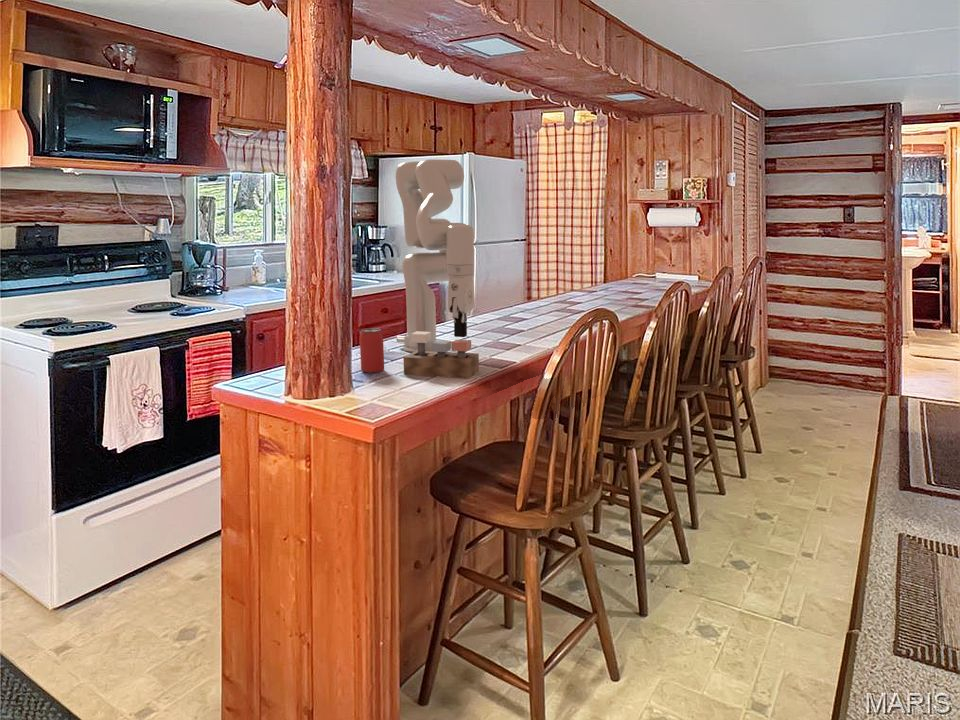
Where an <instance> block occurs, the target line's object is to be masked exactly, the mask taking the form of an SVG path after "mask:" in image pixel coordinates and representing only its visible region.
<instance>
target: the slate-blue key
mask: <svg viewBox="0 0 960 720" xmlns="http://www.w3.org/2000/svg"><path fill="white" fill-rule="evenodd" d="M451 342H452V341H451V340H438V339H436V341H434V342H432V343H431V352H437V354H438V357H445V352H450V351H452V350H451Z"/></svg>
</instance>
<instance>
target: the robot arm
mask: <svg viewBox="0 0 960 720" xmlns="http://www.w3.org/2000/svg"><path fill="white" fill-rule="evenodd" d="M464 181H465V173H464V168H463V166H462V165H461V163H460V162H459V161H457V160H456V159H440V158H439V159H436V158H434V159H424V160H421V161H413V160H412V161H406V162H402V163H400V164H398V165H397V167H396V169H395V185H396V189H397V192H398V195H399V198H400V201H401V203H402V210H403V211H402V212H403V226H404V237H405V238H404V239H405V242H406V245H407V246H408V247H409V248H411V249H420V250H421V249H425V250H427V251H428V252H413V253H410V254H408V255H406V256H405V257H404V258H403V260H402V265H401V267H402V274H403V278H404V286H405V300H406V301H405V302H406V303H405V304H406V329H407V330H406V335H404V336H403V335H402V336H401V335H397V336H396V339H395V340H396V342H397V343H404V344H403V345H402V350H404V351H405V352H410V353H413V352H415V351H417V350H418V346H417V343H416V342H411V334H412V333H414V332H416V331H421V332H431V341H429V342H427V343H425V351H431V343H432V342H434V341H436V340H437V317H436V316H437V315H436V311H437V310H436V296H435V292H434V291H433V289H432V288H431V287H430V286H429V285H428V283H437V282H440V283H441V282H448V284H447V285H448V286H447V309H448V312H449V313H450V314H451V313H452V317H451V318H453V333H454V334H453V335H454V337H456V338H466V337H467V336H468V313H469V312H471V311H473V310H474V308H475V289H474V288H475V287H474V278H473V277H474V276H475V229H474V227H473V226H472V225H471V224H465V223H463V222H451V221H450V220H448V219H446V218H432V217H436V216H437V215H439V214H442V213H443V212H445V211H446V210H448V209H449V208H450V207H451V205H452V204H453V201H454V197H453V196H454V195H453V192H452V191H451V190H456V189H459V188H461V187H462V186H463V184H464ZM429 251H439V252H429Z"/></svg>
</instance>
